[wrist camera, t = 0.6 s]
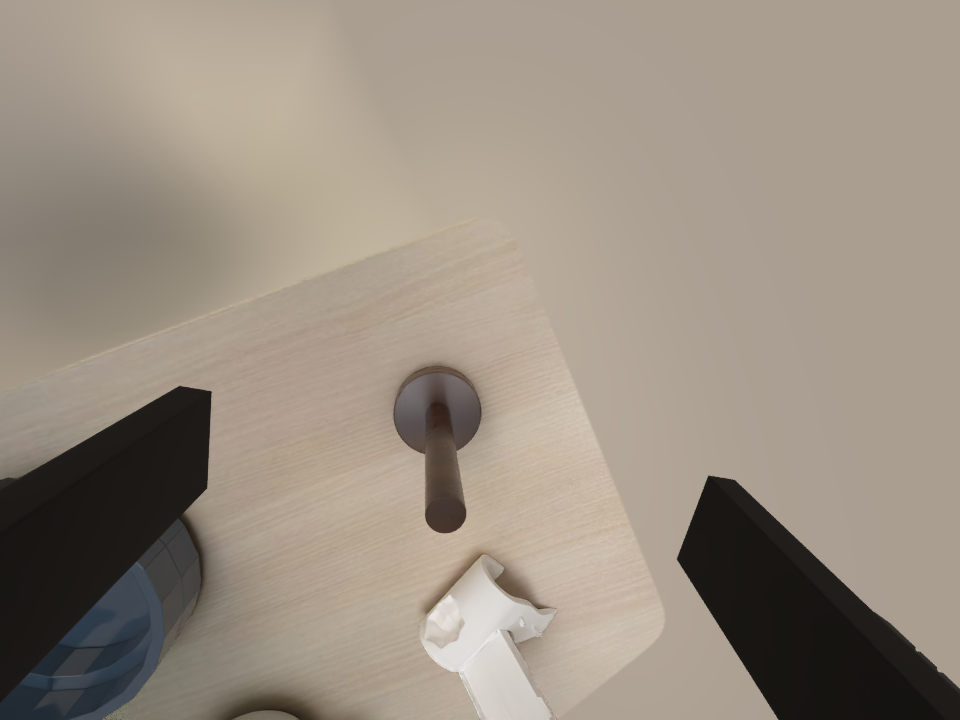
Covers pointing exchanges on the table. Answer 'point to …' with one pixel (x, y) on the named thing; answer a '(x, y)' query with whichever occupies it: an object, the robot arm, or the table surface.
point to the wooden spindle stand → (439, 437)
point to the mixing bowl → (115, 639)
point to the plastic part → (488, 643)
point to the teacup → (267, 716)
